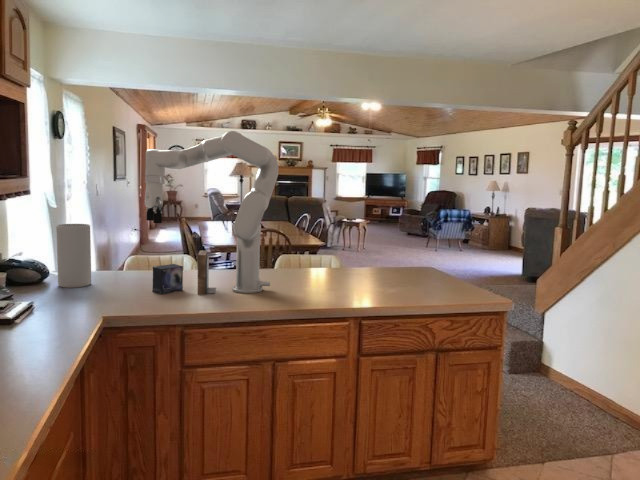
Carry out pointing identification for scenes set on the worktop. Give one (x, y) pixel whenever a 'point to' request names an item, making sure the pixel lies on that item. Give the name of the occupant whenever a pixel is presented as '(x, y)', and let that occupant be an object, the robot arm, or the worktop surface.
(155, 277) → the small box
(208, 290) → the metal bookend
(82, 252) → the cylinder vase
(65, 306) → the worktop surface
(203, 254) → the walnut block
